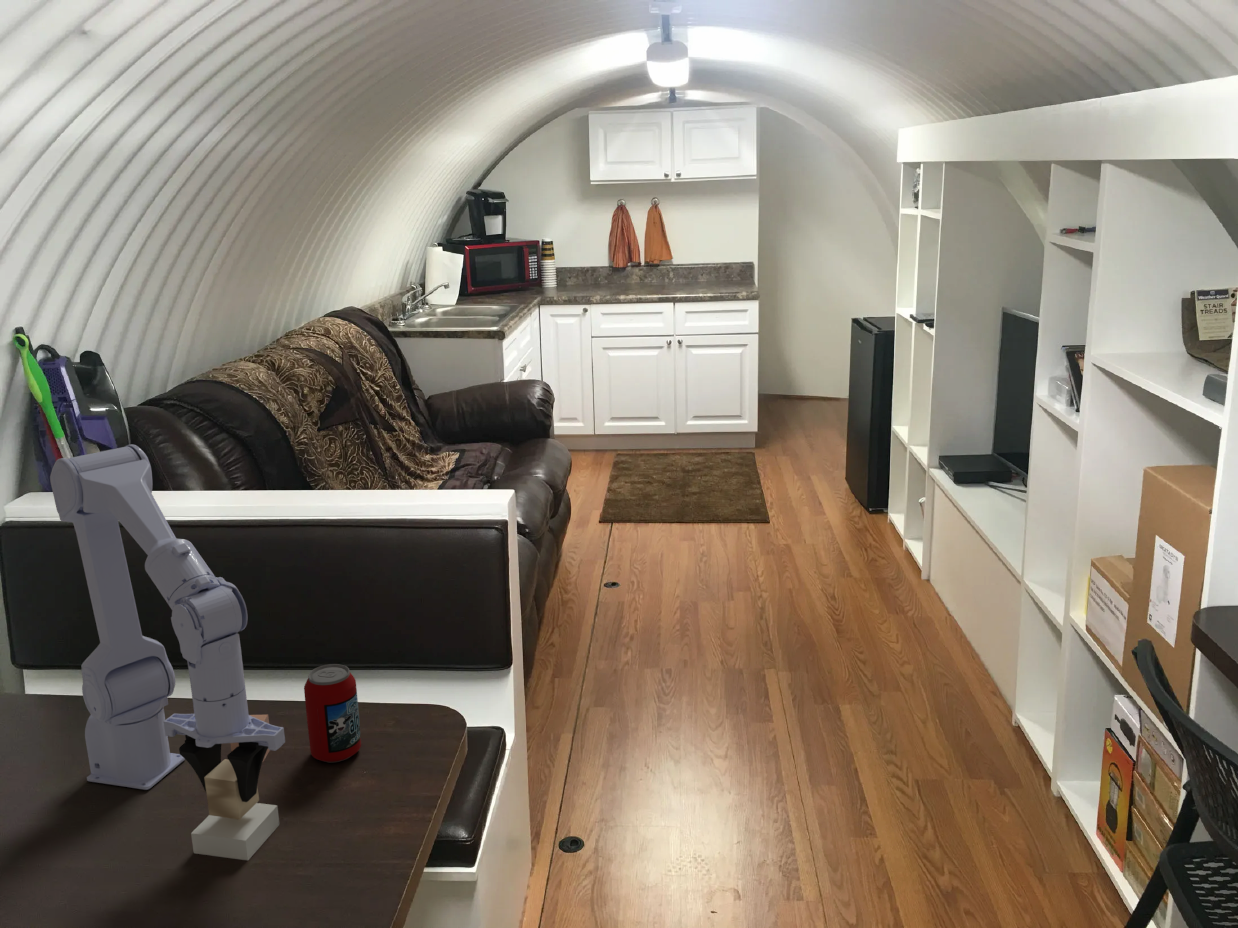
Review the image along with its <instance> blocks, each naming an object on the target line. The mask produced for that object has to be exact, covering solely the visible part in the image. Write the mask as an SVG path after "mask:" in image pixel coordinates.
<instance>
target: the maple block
mask: <svg viewBox="0 0 1238 928" xmlns="http://www.w3.org/2000/svg"><path fill="white" fill-rule="evenodd" d="M204 779H205V786H206V792H205V794H206V800H207V809H208V816H209V815H212V816H219V817H225V818H232V819H238V820H240V819H241V818H242V817H243V816H244V815H245V814H246V813H247V812H248V811H249V810H250V809H251V808H252V807H253V806H254V805H255V804H256V803H258V802H259V801H260V795H259V789H258V785H257V793H256V794H255V795H254V796H253V797H252V798H251V799H250V800H249V801H248V802H242V800H241V798H240V794H239V789H238V782H237V777H236V774H235V771H234V769H233V767H232V765H231V763H230V761H229V760H228V758H225V759H223V760H221V763H220V764H219V765H218V766H217V767H215V768H214V769H213V770H212V771H211V772H210V773H209V774H207V775H206V776H205V777H204Z"/></svg>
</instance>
